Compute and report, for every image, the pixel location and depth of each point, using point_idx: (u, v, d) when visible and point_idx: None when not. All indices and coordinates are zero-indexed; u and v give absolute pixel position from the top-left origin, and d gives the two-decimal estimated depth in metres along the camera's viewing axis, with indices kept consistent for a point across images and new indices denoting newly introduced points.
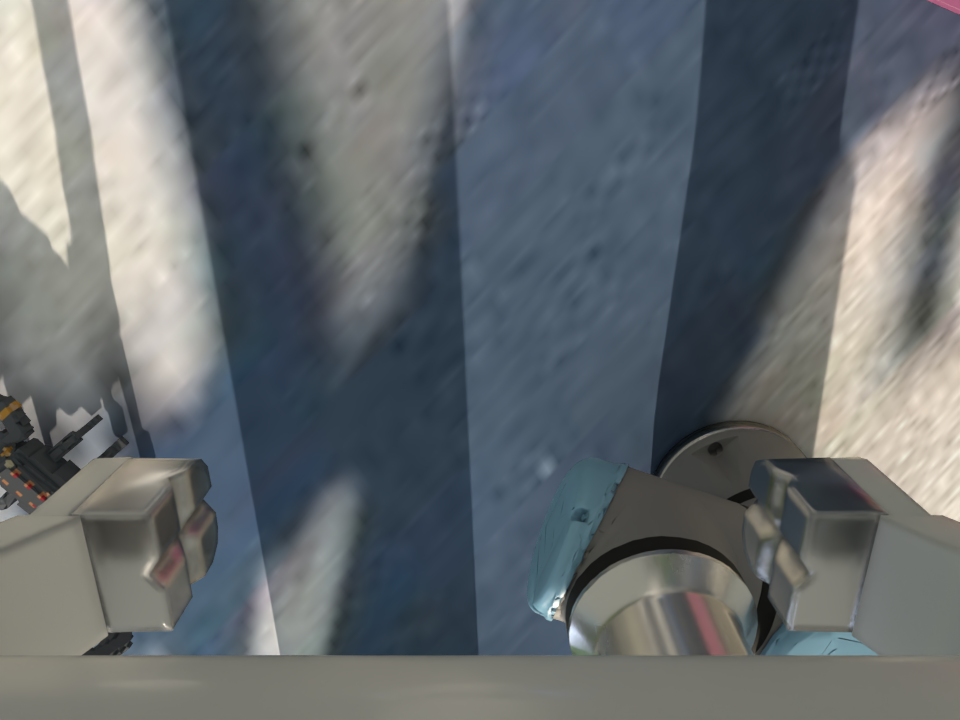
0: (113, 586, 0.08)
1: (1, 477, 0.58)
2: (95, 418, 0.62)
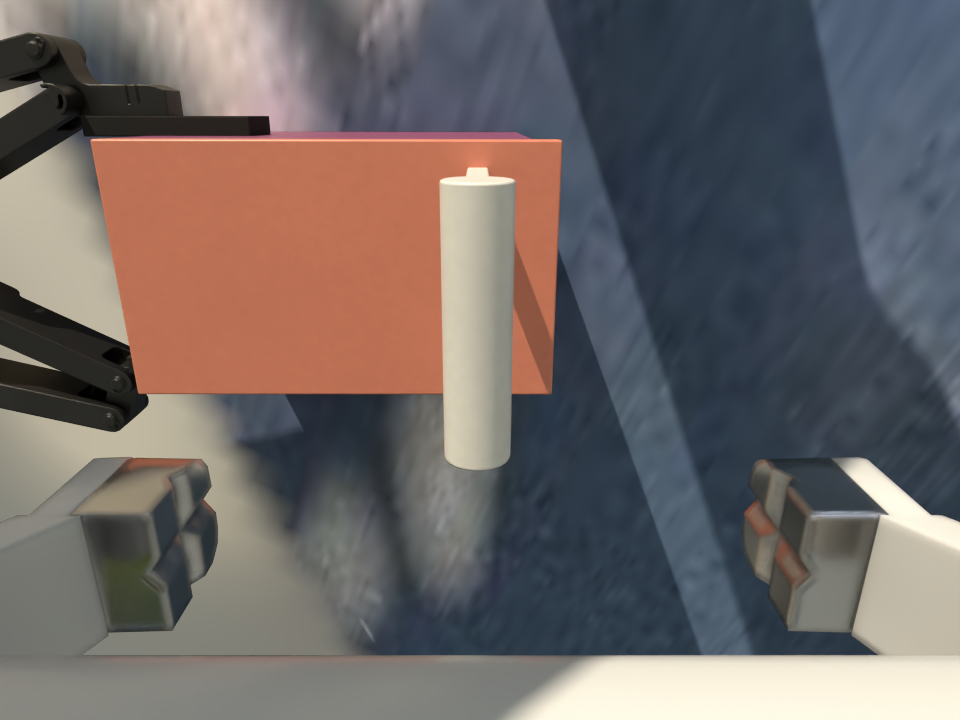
0: (113, 586, 0.08)
1: None
2: None
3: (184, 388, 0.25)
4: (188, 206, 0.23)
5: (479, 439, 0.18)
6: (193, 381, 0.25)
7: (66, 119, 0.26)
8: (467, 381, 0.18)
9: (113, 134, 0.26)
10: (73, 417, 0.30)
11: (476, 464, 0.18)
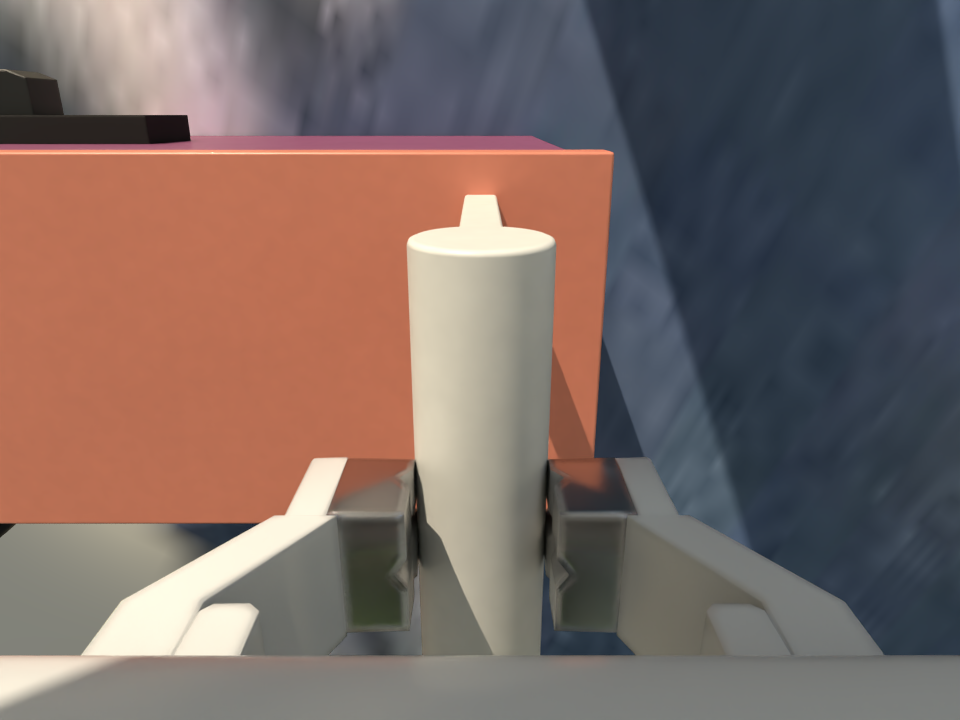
0: (357, 586, 0.08)
1: None
2: None
3: (49, 516, 0.17)
4: (34, 255, 0.15)
5: None
6: (61, 507, 0.17)
7: None
8: (462, 607, 0.09)
9: None
10: None
11: None
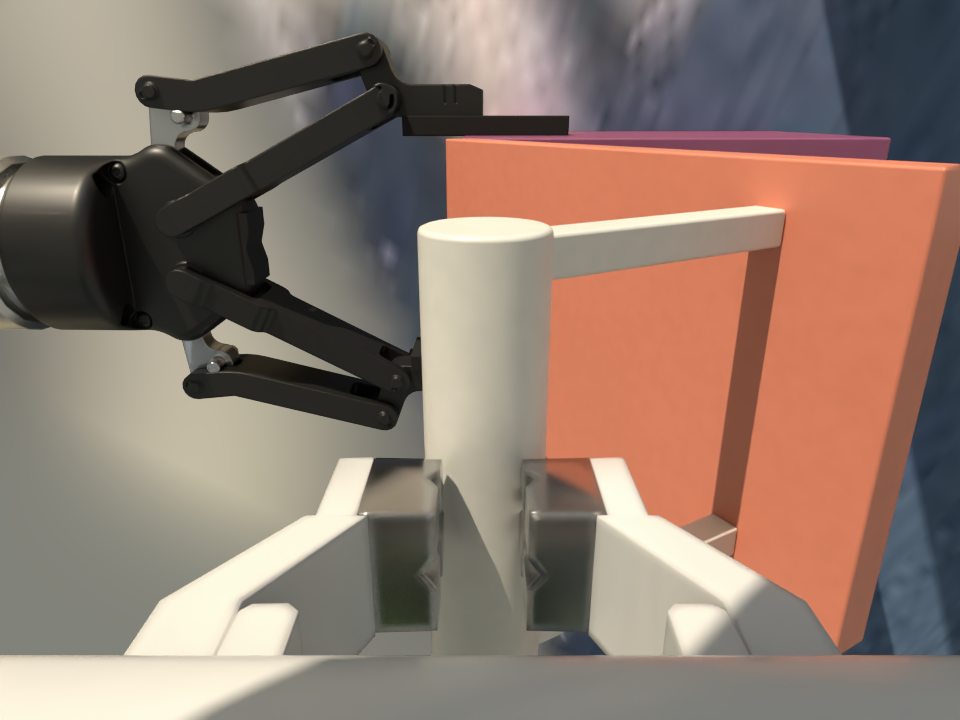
0: (387, 586, 0.08)
1: None
2: None
3: None
4: (490, 215, 0.21)
5: (439, 637, 0.11)
6: None
7: (385, 119, 0.26)
8: None
9: (432, 134, 0.26)
10: (348, 415, 0.31)
11: None
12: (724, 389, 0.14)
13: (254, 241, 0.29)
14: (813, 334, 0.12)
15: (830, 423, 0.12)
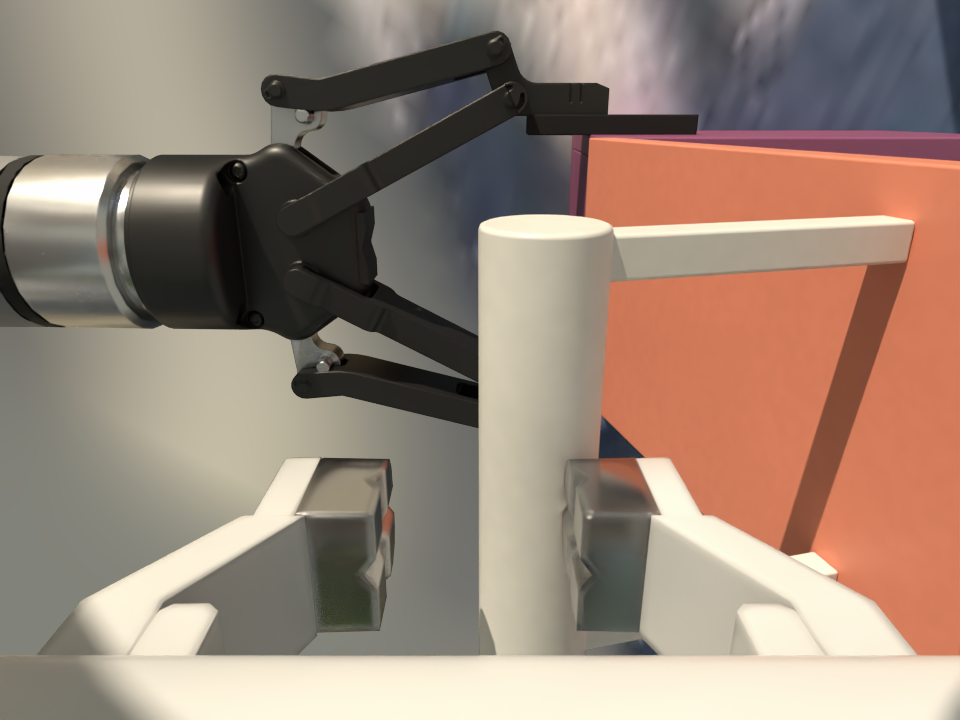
0: (327, 586, 0.08)
1: None
2: None
3: None
4: (623, 216, 0.21)
5: (483, 621, 0.12)
6: None
7: None
8: (479, 527, 0.11)
9: (558, 133, 0.26)
10: (455, 416, 0.30)
11: (481, 652, 0.12)
12: (835, 417, 0.13)
13: (367, 240, 0.29)
14: (936, 364, 0.11)
15: (948, 468, 0.11)
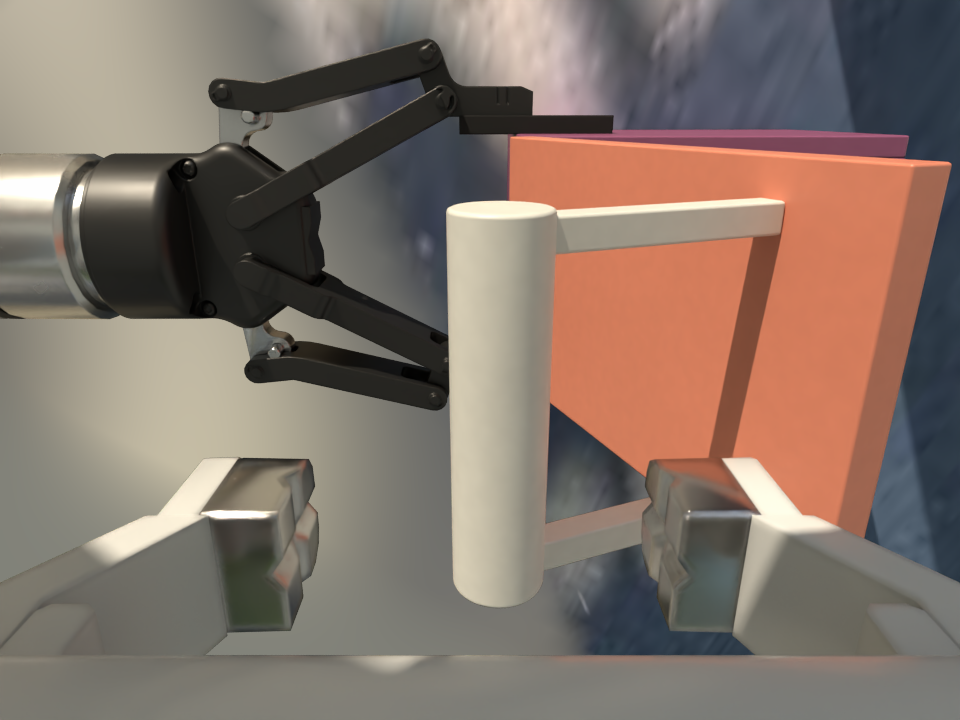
0: (235, 586, 0.08)
1: None
2: None
3: None
4: None
5: (457, 551, 0.13)
6: None
7: (442, 118, 0.28)
8: (451, 470, 0.13)
9: (487, 132, 0.28)
10: (401, 397, 0.33)
11: (455, 580, 0.14)
12: (733, 364, 0.16)
13: (313, 233, 0.31)
14: (805, 313, 0.13)
15: (818, 394, 0.13)
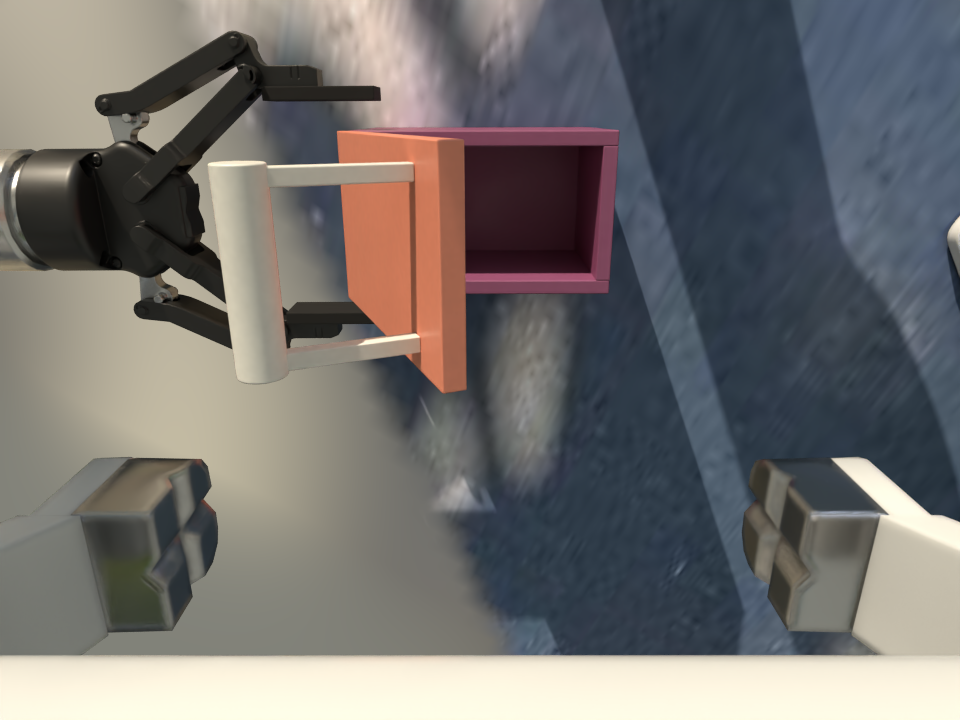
0: (113, 586, 0.08)
1: None
2: None
3: (355, 300, 0.37)
4: None
5: (234, 354, 0.25)
6: (357, 297, 0.37)
7: (253, 89, 0.39)
8: None
9: (282, 99, 0.39)
10: None
11: (236, 373, 0.25)
12: (411, 261, 0.27)
13: (192, 207, 0.42)
14: (424, 223, 0.25)
15: (431, 268, 0.25)
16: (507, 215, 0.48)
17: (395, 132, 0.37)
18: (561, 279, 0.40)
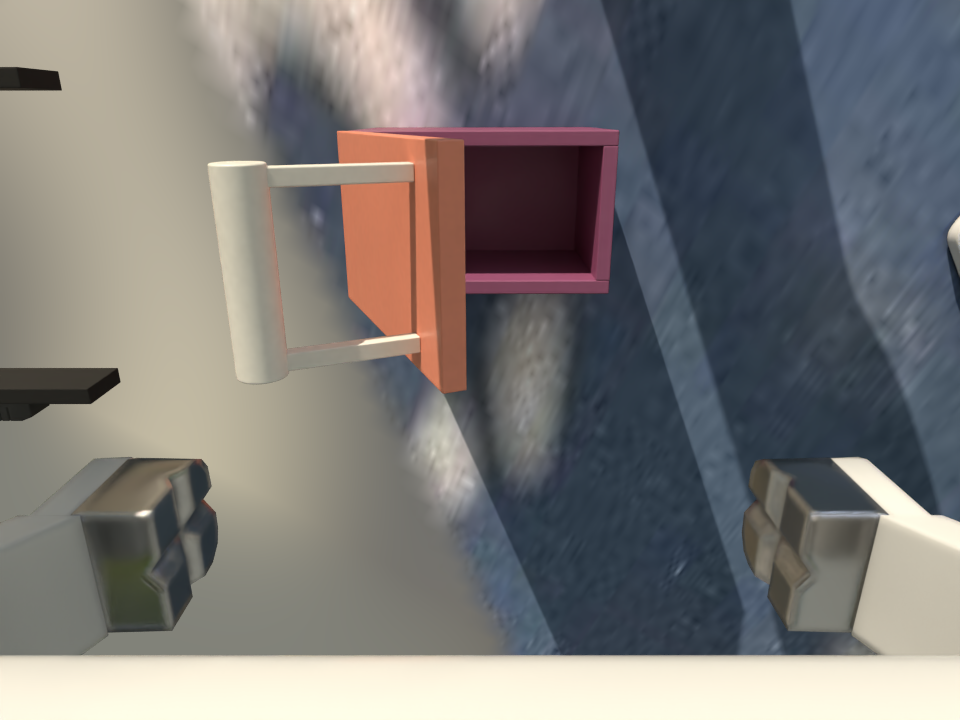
0: (113, 586, 0.08)
1: None
2: None
3: (355, 300, 0.37)
4: None
5: (234, 354, 0.25)
6: (357, 297, 0.37)
7: None
8: None
9: None
10: None
11: (236, 373, 0.25)
12: (411, 261, 0.27)
13: None
14: (424, 223, 0.25)
15: (431, 268, 0.25)
16: (507, 215, 0.48)
17: (395, 132, 0.37)
18: (561, 279, 0.40)
